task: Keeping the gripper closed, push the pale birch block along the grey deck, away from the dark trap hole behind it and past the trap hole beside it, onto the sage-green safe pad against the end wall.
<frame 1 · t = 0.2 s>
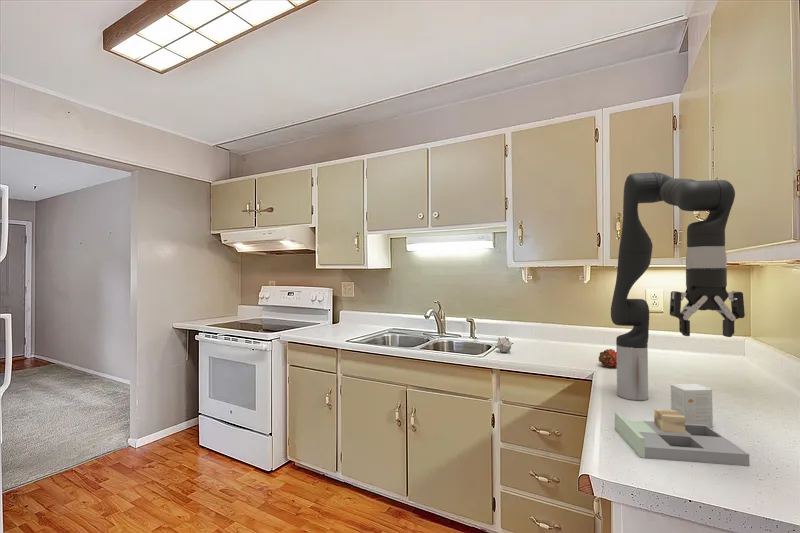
hand: (706, 336, 92), 28 cm above the counter, tool pointing down, fingers open, 8 cm apart
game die: (504, 353, 206), on the counter
block: (669, 428, 101), point 2 cm above the counter, touching deck
small box: (691, 424, 111), on the counter
deck: (674, 445, 98), on the counter
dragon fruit: (609, 367, 176), on the counter
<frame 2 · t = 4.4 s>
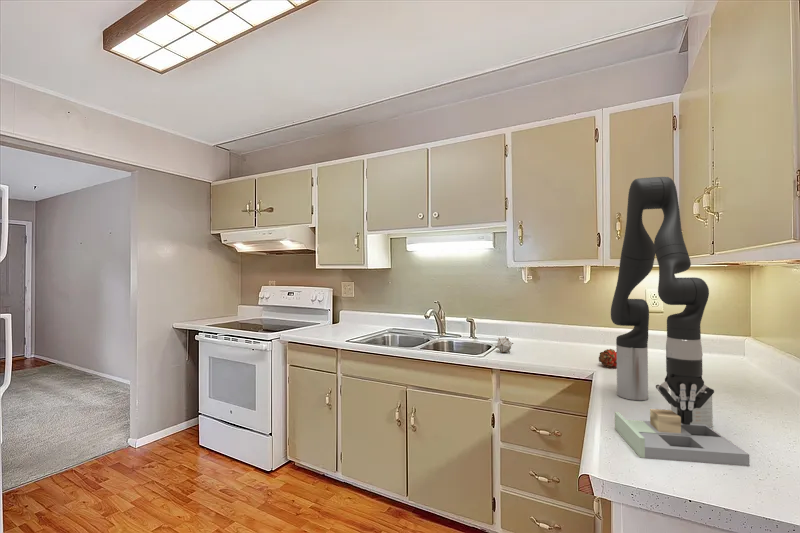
hand: (684, 423, 101), 4 cm above the counter, tool pointing down, fingers closed
block: (665, 428, 101), point 2 cm above the counter, touching deck, gripper
everything else where it was.
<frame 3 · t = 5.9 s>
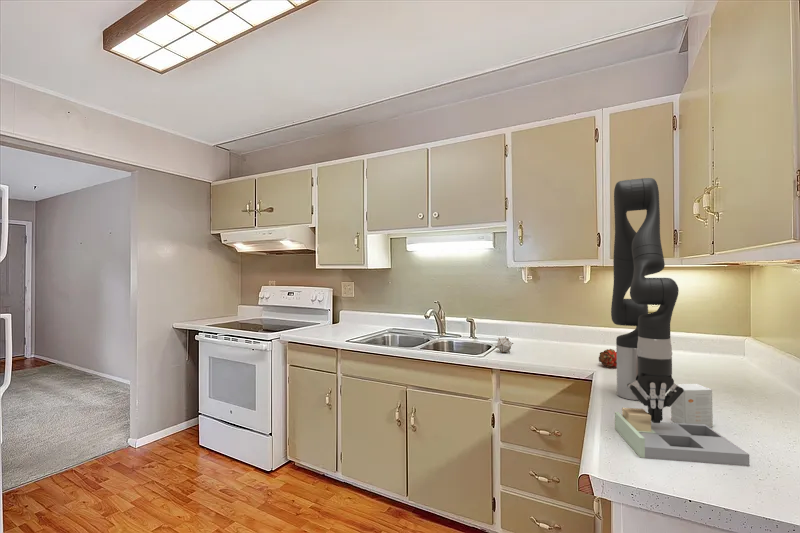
hand: (655, 421, 102), 4 cm above the counter, tool pointing down, fingers closed
block: (636, 427, 103), point 2 cm above the counter, touching deck, gripper
everything else where it was.
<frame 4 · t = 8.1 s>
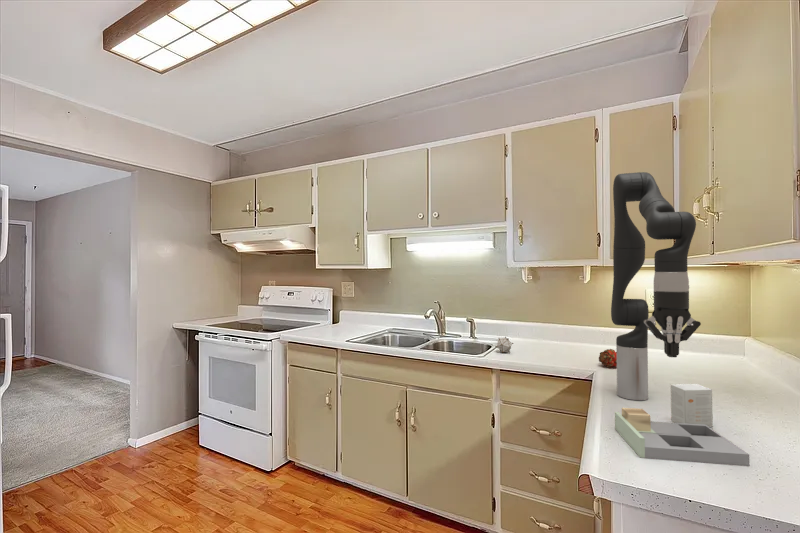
hand: (671, 356, 102), 21 cm above the counter, tool pointing down, fingers closed
block: (635, 426, 103), point 2 cm above the counter, touching deck
everything else where it was.
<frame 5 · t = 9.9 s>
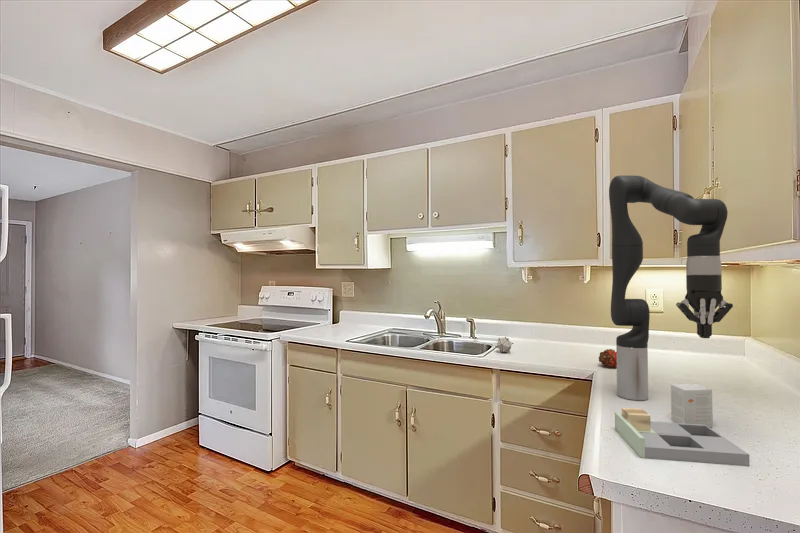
hand: (704, 337, 106), 25 cm above the counter, tool pointing down, fingers closed
nothing on the counter moved.
at the end: block 0.7 cm from the target spot, point 2.5 cm above the counter; block tilted 0° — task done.
